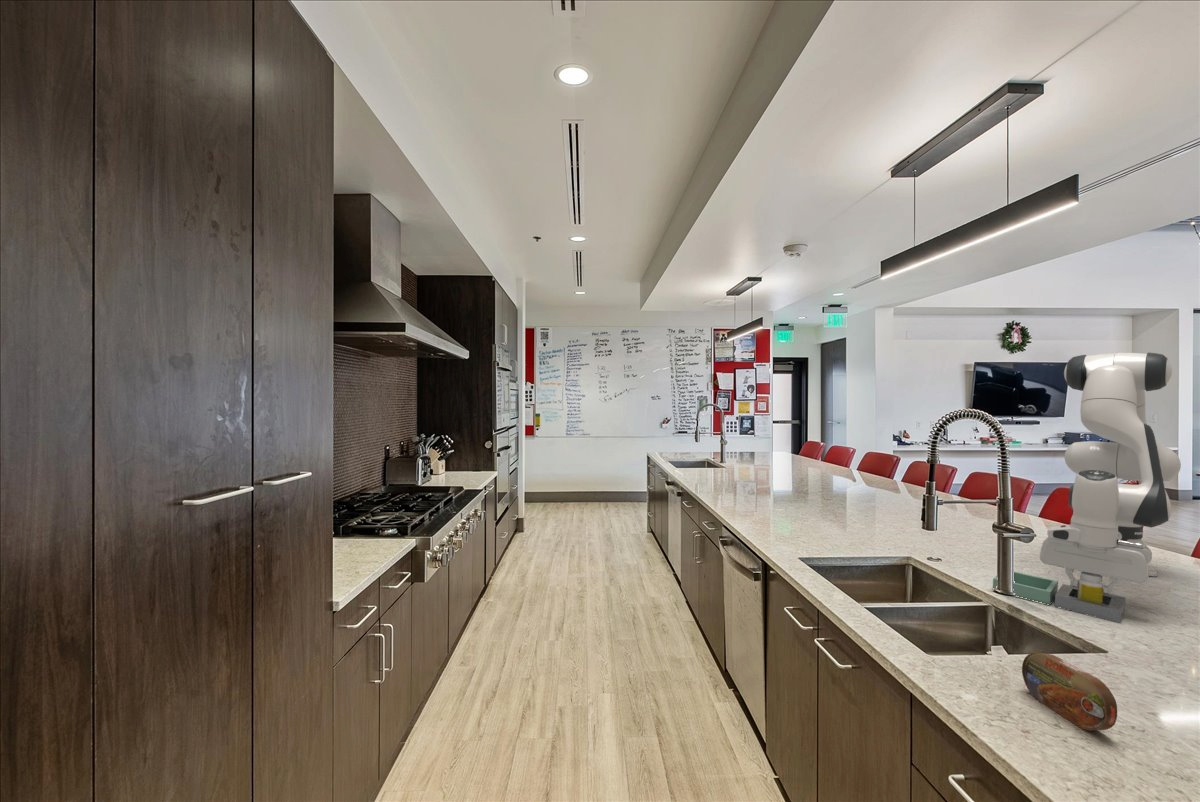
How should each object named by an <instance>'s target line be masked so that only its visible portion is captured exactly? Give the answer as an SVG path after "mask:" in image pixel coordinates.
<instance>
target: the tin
mask: <svg viewBox="0 0 1200 802" xmlns="http://www.w3.org/2000/svg"><path fill="white" fill-rule="evenodd" d="M1021 673H1022V674H1021V675H1022V679H1023V681H1024V684H1025V686H1026V688H1027V690H1028V692H1029V693H1030V694H1031V696H1033V697H1034V699H1035V700H1036V701H1038V702H1040V703H1041V704H1042V705H1044V706H1045V707H1047V708H1049V709H1050V710H1053V712H1055V713H1056V714H1058V715H1059V716H1061V717H1063V718H1064V719H1066V720H1068V722H1070V723H1072V724H1074V725H1075V726H1077V727H1078V728H1079V729H1082V730H1085V731H1092V732H1093V731H1107V730H1109V729H1111V728H1113V727H1114V726H1115V724H1116V722H1117V719H1118V703H1117V701H1116V699H1115V696H1114V695H1113V693H1112V691H1111V690H1110V689H1109V687H1108V686H1107V685H1106V684H1105V683H1104V682H1103V681H1102V680H1101V679H1099V678H1097V677H1096V676H1094V675H1092V674H1091V673H1089V672H1087V671H1085V670H1082V669H1080V667H1077V666H1075V665H1073V664H1072V663H1070V662H1068V661H1066V660H1064V659H1062V658H1061V657H1058V656H1056V655H1054V654H1050V653H1044V652H1043V653H1041V652H1031V653H1028V654H1027V655H1026V656H1025V657H1024V659H1023V661H1022V665H1021Z"/></svg>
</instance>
